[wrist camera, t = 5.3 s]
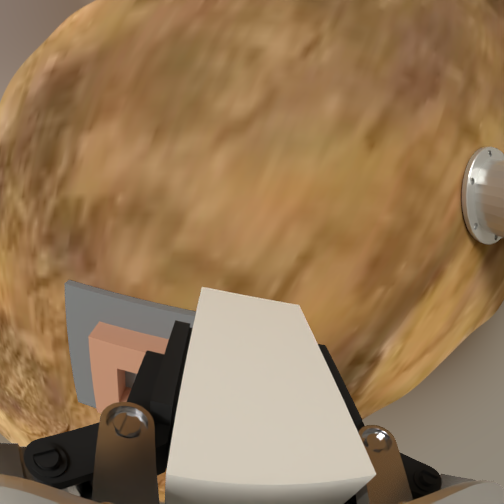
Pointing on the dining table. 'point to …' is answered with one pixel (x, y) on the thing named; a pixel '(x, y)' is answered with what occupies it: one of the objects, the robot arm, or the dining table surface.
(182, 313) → the socket board
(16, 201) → the dining table surface
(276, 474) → the plug
